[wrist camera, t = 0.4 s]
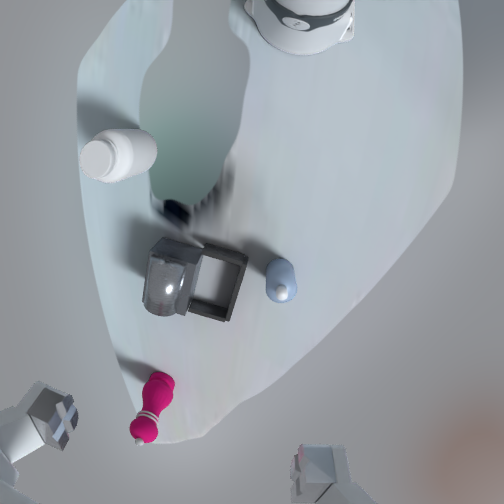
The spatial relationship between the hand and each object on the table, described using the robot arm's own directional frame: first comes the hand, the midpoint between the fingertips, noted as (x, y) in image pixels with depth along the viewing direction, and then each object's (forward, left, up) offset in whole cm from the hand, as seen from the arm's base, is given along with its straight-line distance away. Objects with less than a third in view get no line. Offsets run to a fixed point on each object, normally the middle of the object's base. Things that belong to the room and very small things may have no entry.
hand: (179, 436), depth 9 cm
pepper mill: (+48, -8, -45) cm, 66 cm away
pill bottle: (-2, -21, -45) cm, 50 cm away
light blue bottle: (+12, +9, -45) cm, 47 cm away
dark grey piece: (+17, -5, -45) cm, 48 cm away
